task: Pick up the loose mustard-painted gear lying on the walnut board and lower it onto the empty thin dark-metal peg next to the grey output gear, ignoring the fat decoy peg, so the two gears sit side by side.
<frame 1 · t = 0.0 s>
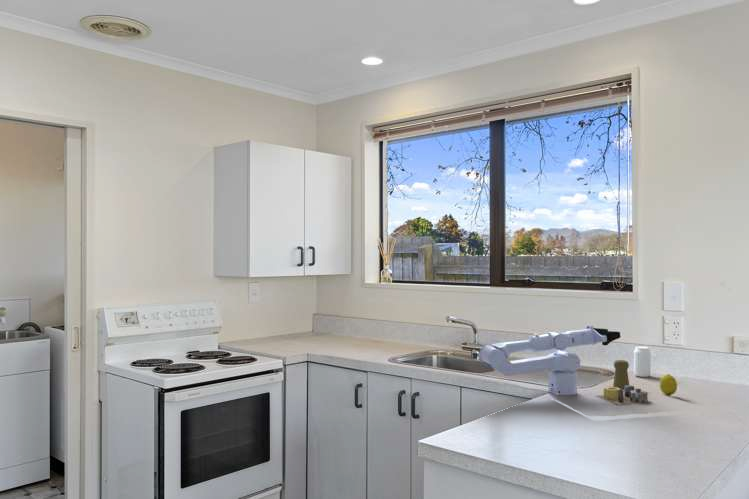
hand: (613, 333, 220), 22 cm above the worktop, tool horizontal, fingers open, 7 cm apart
cork: (621, 390, 224), on the worktop
gear board: (623, 402, 206), on the worktop
beverage can: (642, 376, 247), on the worktop
lemon: (668, 397, 213), on the worktop
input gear: (612, 397, 209), point 1 cm above the worktop, touching gear board
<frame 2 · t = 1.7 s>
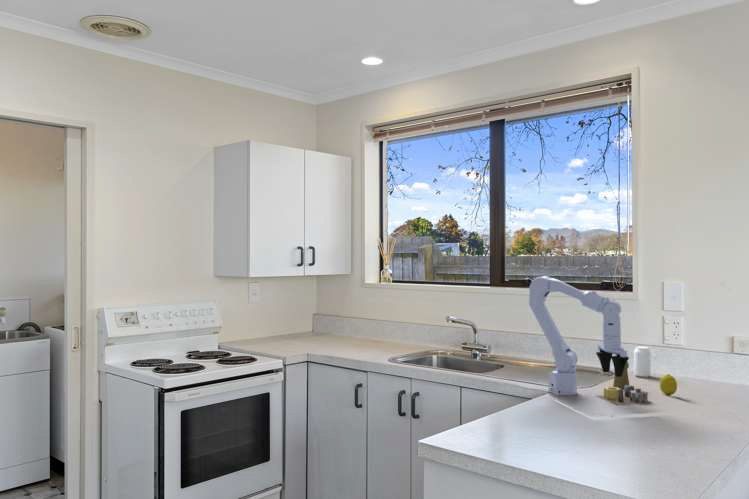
hand: (612, 374, 209), 9 cm above the worktop, tool pointing down, fingers open, 7 cm apart
nothing on the worktop moved.
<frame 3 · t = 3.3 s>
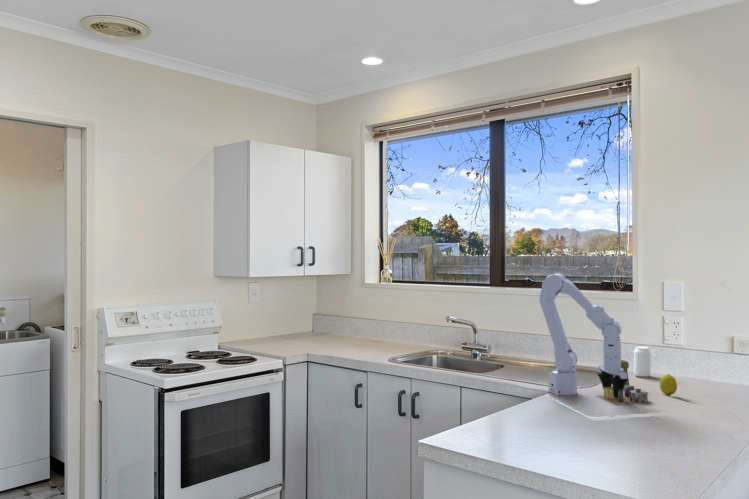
hand: (612, 395, 209), 2 cm above the worktop, tool pointing down, fingers closed on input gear, 5 cm apart
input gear: (612, 397, 209), point 1 cm above the worktop, touching gear board, gripper
everything else where it was.
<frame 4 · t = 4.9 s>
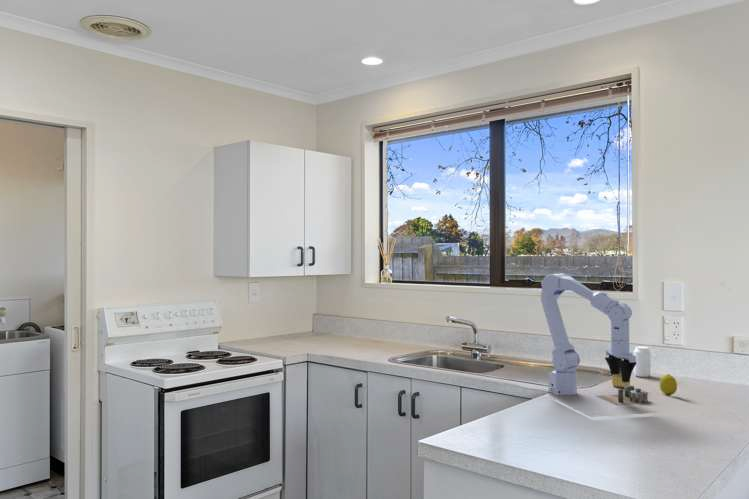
hand: (620, 379, 203), 8 cm above the worktop, tool pointing down, fingers closed on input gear, 5 cm apart
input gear: (621, 384, 203), point 7 cm above the worktop, touching gripper
everything else where it was.
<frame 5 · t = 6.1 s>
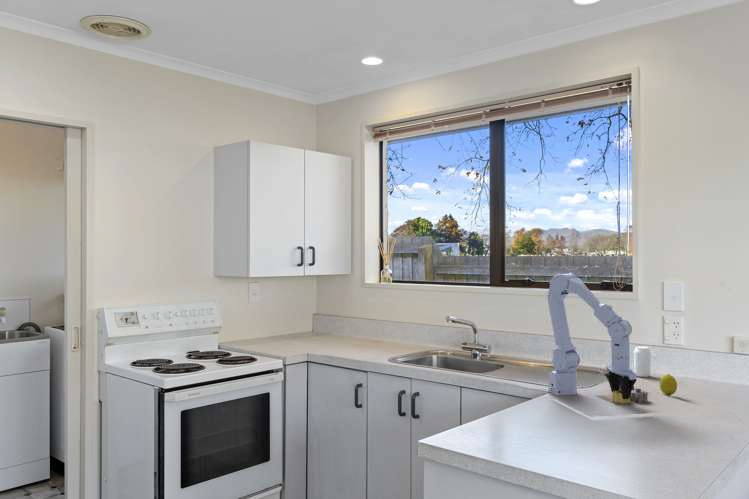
hand: (620, 396, 203), 3 cm above the worktop, tool pointing down, fingers closed on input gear, 5 cm apart
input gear: (621, 401, 203), point 1 cm above the worktop, touching gripper
everything else where it was.
when the fingers open (3 cm above the worktop, at t = 6.8 s): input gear stays where it is, resting on gear board.
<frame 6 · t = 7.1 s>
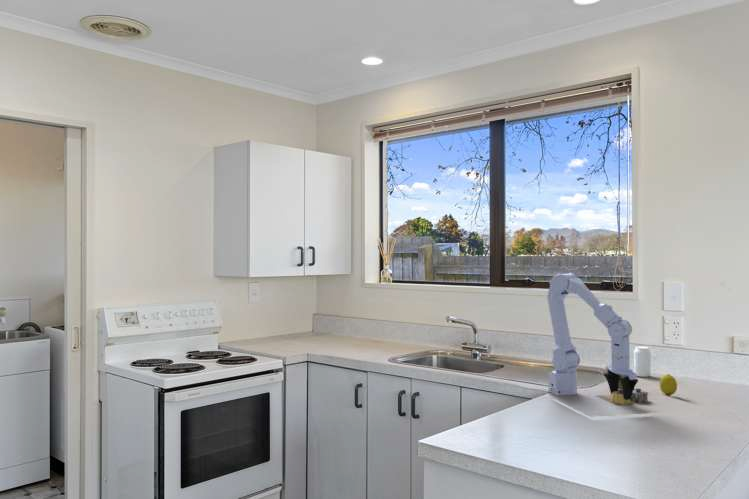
hand: (620, 396, 203), 3 cm above the worktop, tool pointing down, fingers open, 7 cm apart
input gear: (621, 401, 203), point 1 cm above the worktop, touching gear board
everything else where it was.
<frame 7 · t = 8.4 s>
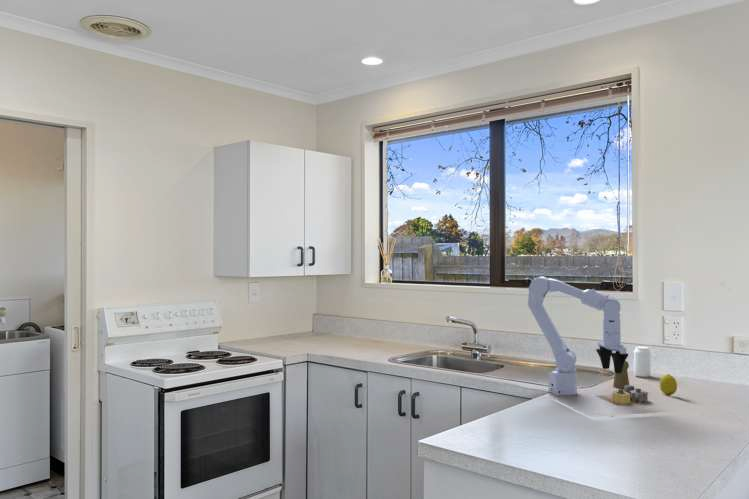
hand: (611, 370, 211), 10 cm above the worktop, tool pointing down, fingers open, 7 cm apart
nothing on the worktop moved.
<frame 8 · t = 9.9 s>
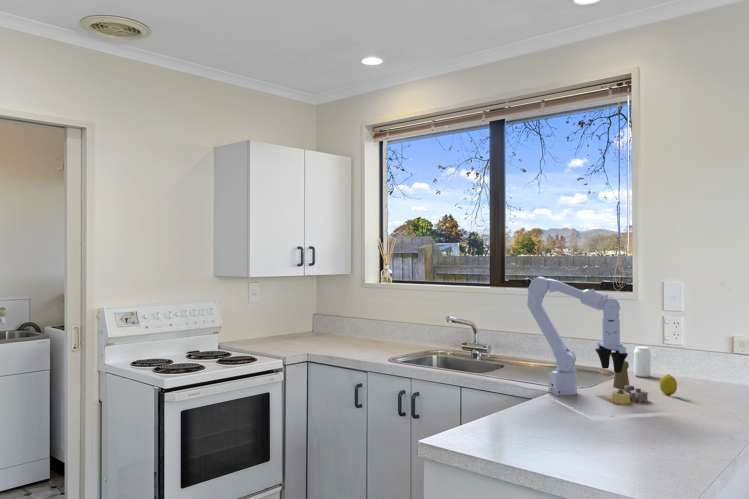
hand: (611, 370, 211), 10 cm above the worktop, tool pointing down, fingers open, 7 cm apart
nothing on the worktop moved.
at the end: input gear 0.2 cm from the target spot on the gear board, point 1.0 cm above the gear board's base; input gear tilted 0°; the gripper is holding nothing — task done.
